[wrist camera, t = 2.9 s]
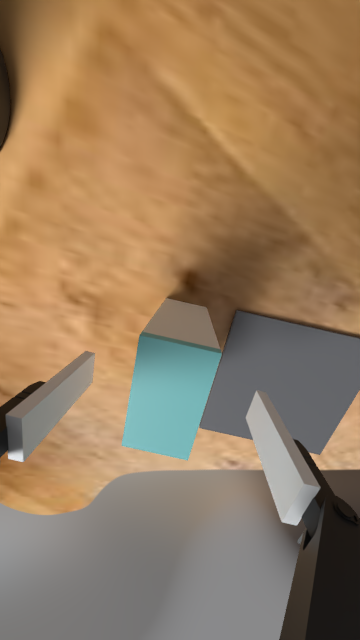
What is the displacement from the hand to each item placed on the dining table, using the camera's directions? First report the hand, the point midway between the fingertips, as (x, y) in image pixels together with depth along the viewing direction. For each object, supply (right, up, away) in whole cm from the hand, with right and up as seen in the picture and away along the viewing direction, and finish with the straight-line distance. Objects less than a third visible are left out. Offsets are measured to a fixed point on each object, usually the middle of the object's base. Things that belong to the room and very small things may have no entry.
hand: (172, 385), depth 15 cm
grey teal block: (0, +3, +9) cm, 10 cm away
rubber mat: (+14, -4, +10) cm, 18 cm away
